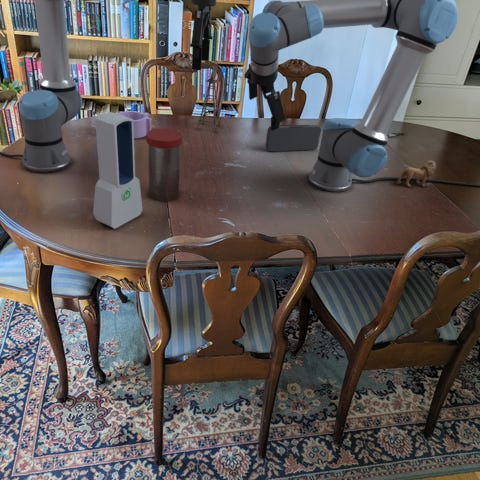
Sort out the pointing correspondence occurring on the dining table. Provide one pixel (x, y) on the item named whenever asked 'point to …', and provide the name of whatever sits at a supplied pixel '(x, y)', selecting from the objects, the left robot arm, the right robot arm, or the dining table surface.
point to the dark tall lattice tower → (211, 81)
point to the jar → (164, 173)
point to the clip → (138, 122)
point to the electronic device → (116, 171)
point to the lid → (164, 138)
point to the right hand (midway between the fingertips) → (264, 112)
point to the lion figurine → (418, 173)
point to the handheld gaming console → (293, 138)
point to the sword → (394, 134)
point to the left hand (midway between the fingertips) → (200, 65)
